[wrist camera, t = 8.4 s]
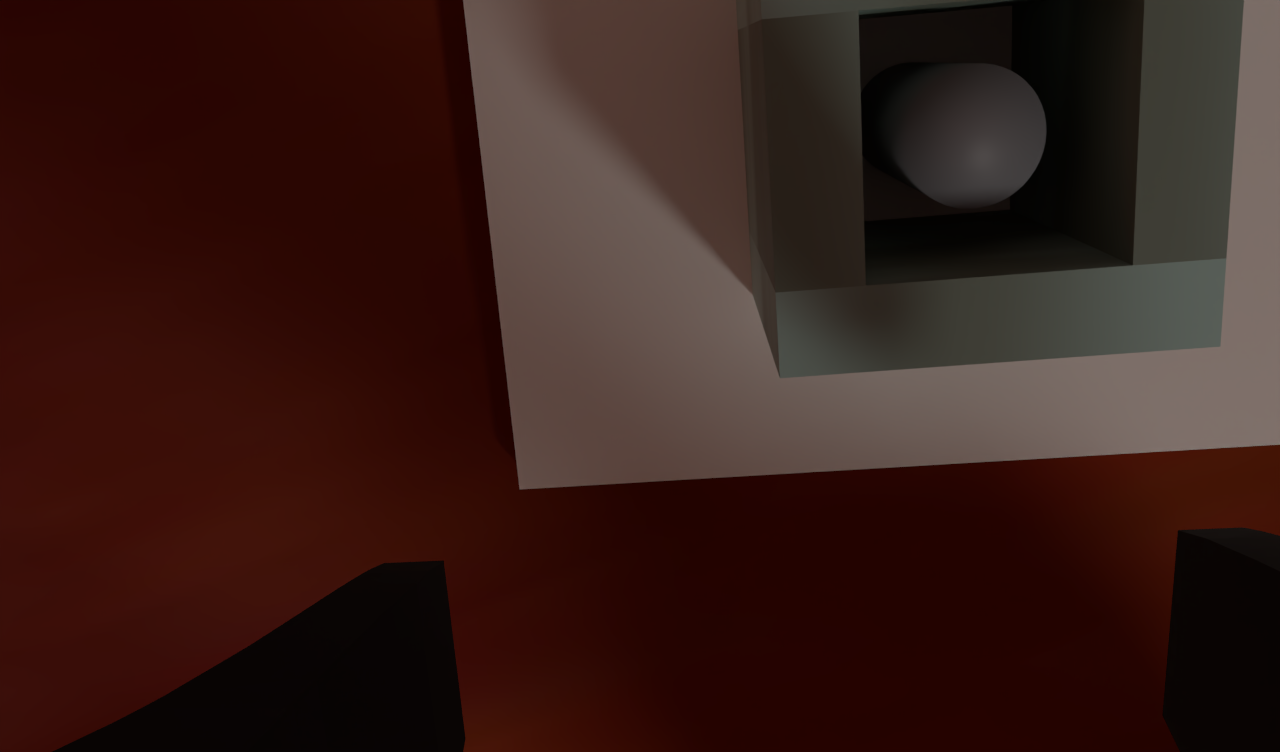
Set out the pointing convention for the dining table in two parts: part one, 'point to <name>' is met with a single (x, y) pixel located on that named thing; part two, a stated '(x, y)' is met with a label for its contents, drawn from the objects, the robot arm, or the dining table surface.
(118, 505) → the dining table surface
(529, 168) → the pin plate
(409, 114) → the dining table surface
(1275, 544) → the robot arm
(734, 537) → the dining table surface
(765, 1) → the collar
